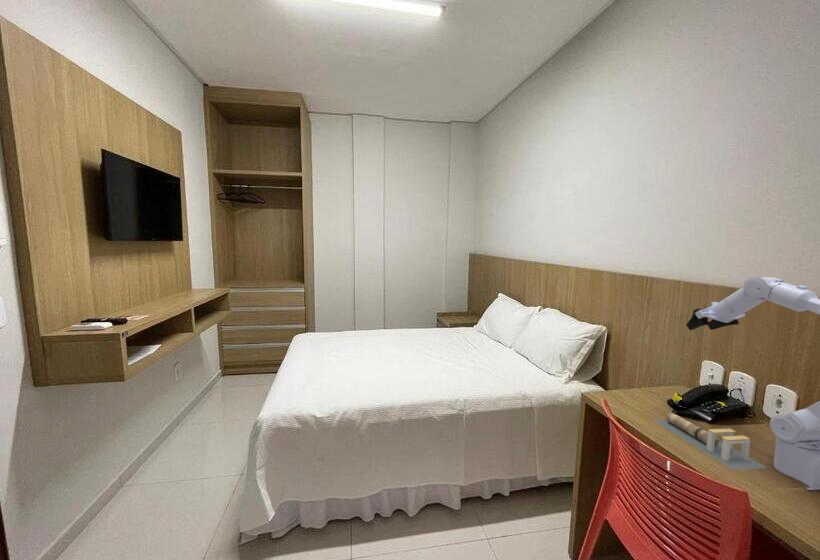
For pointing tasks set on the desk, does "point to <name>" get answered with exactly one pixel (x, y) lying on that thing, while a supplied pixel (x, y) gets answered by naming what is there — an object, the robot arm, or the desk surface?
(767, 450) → the desk surface
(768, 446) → the desk surface
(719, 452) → the peg gate board
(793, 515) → the desk surface
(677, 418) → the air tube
